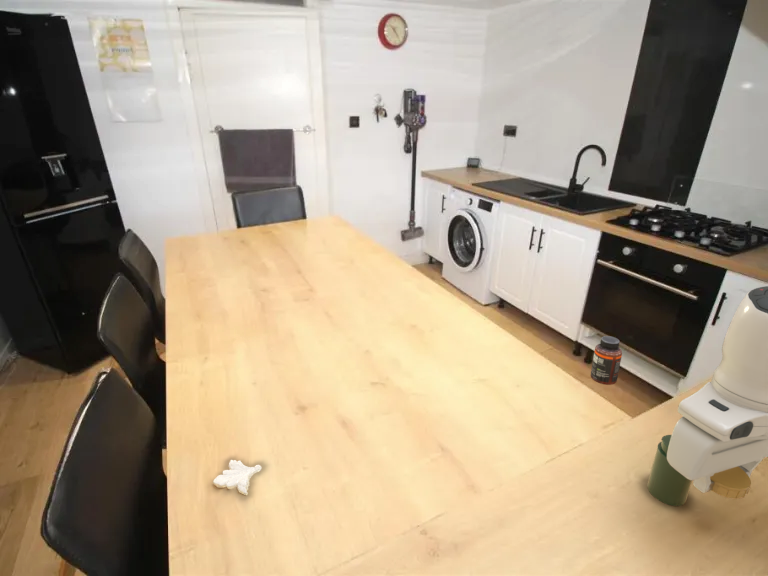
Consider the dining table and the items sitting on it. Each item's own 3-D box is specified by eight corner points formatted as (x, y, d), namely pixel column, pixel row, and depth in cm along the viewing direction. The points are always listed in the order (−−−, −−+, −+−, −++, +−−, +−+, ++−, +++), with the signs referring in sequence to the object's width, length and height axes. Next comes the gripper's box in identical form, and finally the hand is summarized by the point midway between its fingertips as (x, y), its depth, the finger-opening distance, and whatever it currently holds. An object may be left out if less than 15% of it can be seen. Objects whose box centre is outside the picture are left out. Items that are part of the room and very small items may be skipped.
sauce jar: (688, 493, 70) (703, 443, 67) (682, 513, 66) (698, 462, 63) (650, 476, 74) (663, 428, 70) (643, 494, 70) (656, 445, 66)
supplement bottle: (615, 376, 104) (623, 336, 100) (617, 388, 99) (626, 347, 95) (589, 371, 106) (596, 332, 103) (589, 383, 101) (597, 342, 97)
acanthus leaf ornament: (247, 498, 71) (245, 490, 71) (210, 494, 72) (208, 486, 72) (265, 465, 78) (263, 457, 78) (231, 462, 79) (229, 454, 78)
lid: (687, 462, 64) (691, 453, 63) (733, 469, 62) (737, 459, 62) (706, 494, 58) (710, 484, 58) (756, 502, 57) (761, 492, 56)
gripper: (775, 378, 61) (748, 452, 66) (669, 404, 56) (648, 482, 61) (829, 403, 55) (794, 481, 60) (716, 434, 50) (688, 518, 55)
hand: (720, 482), depth 60 cm, fingers closed on lid, 6 cm apart
